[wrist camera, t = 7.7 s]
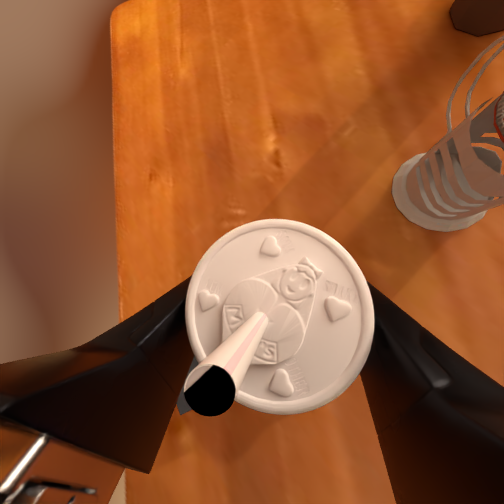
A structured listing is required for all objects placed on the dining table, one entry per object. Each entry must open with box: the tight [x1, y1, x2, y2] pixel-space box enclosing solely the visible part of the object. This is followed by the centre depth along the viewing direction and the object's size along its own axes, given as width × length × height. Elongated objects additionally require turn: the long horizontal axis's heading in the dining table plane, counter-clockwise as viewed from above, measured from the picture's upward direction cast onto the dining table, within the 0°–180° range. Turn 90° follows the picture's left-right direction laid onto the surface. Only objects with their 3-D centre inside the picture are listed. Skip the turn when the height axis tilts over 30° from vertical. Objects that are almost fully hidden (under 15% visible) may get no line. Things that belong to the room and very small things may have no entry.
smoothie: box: [184, 219, 374, 416], centre depth 9 cm, size 6×6×14 cm
